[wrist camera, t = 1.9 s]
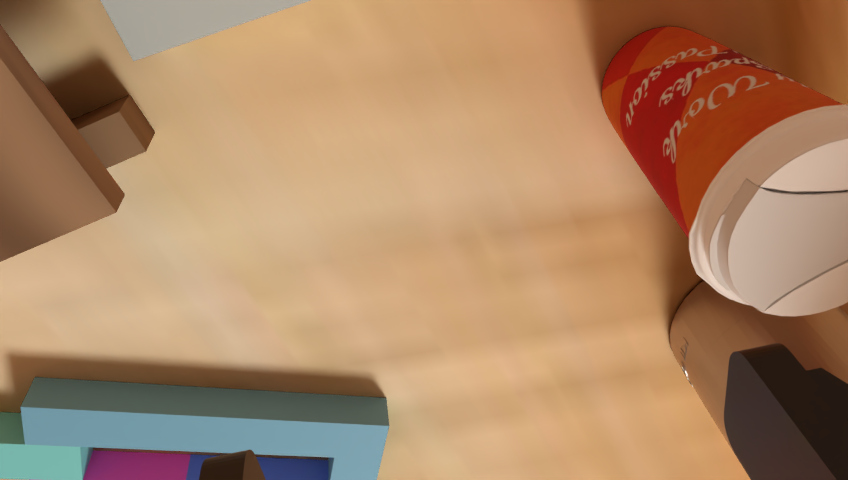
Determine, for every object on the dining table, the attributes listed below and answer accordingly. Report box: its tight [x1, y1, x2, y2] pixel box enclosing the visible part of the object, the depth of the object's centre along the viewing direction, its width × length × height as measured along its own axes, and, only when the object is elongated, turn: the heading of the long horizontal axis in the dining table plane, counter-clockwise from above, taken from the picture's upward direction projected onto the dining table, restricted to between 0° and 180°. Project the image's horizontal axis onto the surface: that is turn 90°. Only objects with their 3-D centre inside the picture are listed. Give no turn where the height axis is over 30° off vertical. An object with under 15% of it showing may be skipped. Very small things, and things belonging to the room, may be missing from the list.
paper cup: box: [602, 27, 848, 316], centre depth 29 cm, size 8×8×14 cm
